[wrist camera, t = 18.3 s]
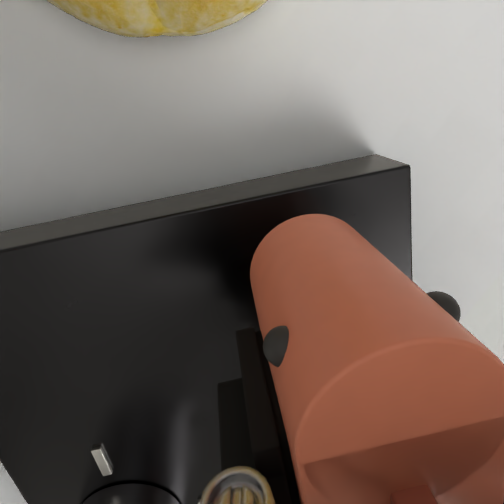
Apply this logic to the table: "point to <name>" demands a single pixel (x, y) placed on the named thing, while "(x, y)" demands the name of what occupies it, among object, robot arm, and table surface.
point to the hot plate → (153, 324)
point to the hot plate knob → (131, 495)
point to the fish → (374, 374)
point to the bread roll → (159, 15)
